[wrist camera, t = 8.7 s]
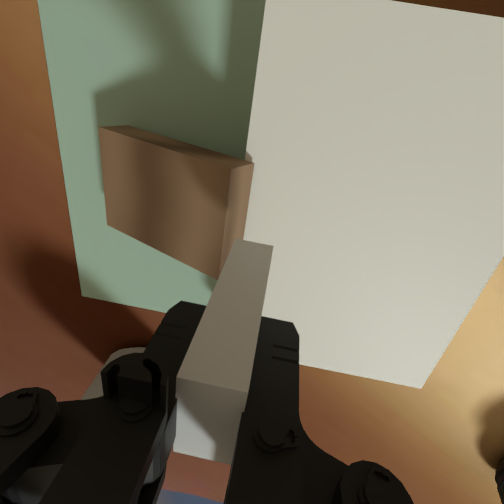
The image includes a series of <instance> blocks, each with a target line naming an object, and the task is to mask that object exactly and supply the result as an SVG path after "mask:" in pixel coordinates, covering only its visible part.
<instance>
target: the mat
mask: <svg viewBox="0 0 504 504" xmlns="http://www.w3.org/2000/svg"><path fill="white" fill-rule="evenodd" d="M265 3H266V0H38V7H39V14H40V20H41V27H42V33H43V40H44V47H45V53H46V60H47V67H48V73H49V80H50V87H51V93H52V100H53V107H54V113H55V120H56V127H57V133H58V140H59V147H60V153H61V160H62V167H63V173H64V180H65V187H66V193H67V200H68V207H69V213H70V220H71V227H72V233H73V240H74V247H75V253H76V260H77V266H78V273H79V280H80V286H81V293H82V296H84V297H89V298H94V299H99V300H104V301H109V302H114V303H119V304H124V305H129V306H135V307H140V308H145V309H150V310H155V311H160V312H165V313H167V311H168V310H169V309H170V308H171V307H173V306H174V305H176V304H177V303H178V302H180V301H186V302H191V303H196V304H201V305H205V306H207V304H208V302H209V299H210V297H211V295H212V292H213V290H214V288H215V285H216V283H217V281H218V280H216V279H214V278H212V277H210V276H208V275H206V274H204V273H202V272H200V271H198V270H196V269H194V268H192V267H190V266H188V265H186V264H184V263H182V262H180V261H178V260H176V259H174V258H172V257H170V256H168V255H166V254H164V253H162V252H160V251H158V250H156V249H154V248H152V247H150V246H148V245H146V244H144V243H142V242H140V241H138V240H136V239H134V238H132V237H130V236H128V235H126V234H124V233H122V232H120V231H118V230H116V229H114V228H112V227H110V226H108V225H107V219H106V208H105V197H104V186H103V175H102V163H101V152H100V141H99V130H98V127H104V126H124V125H129V126H132V127H135V128H139V129H142V130H146V131H149V132H152V133H156V134H159V135H162V136H166V137H169V138H172V139H176V140H179V141H182V142H186V143H189V144H192V145H196V146H199V147H202V148H206V149H209V150H212V151H216V152H219V153H223V154H226V155H229V156H233V157H236V158H239V159H243V160H245V154H246V147H247V139H248V132H249V124H250V116H251V109H252V101H253V94H254V86H255V78H256V71H257V63H258V56H259V48H260V41H261V33H262V25H263V18H264V10H265Z"/></svg>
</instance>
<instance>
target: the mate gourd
mask: <svg viewBox="0 0 504 504" xmlns="http://www.w3.org/2000/svg"><path fill="white" fill-rule="evenodd" d="M495 481H496V483H497V489H498V492H499V495H500V499H501V502H502V504H504V457H503V459H502V460H501V461H500V463H499V465H498V467H497V469H496V475H495Z"/></svg>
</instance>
